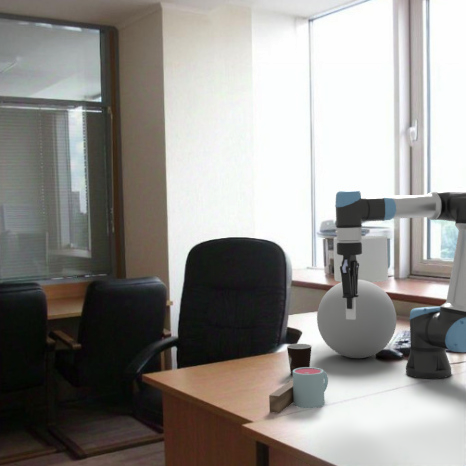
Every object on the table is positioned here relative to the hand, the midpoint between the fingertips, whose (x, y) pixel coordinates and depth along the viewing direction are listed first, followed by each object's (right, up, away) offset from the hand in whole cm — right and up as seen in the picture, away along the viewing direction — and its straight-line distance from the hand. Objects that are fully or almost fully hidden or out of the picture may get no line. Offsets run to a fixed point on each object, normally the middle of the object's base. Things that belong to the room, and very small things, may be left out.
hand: (351, 318), depth 217 cm
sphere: (+12, -22, +58) cm, 63 cm away
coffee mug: (-12, -24, +35) cm, 44 cm away
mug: (-12, -25, -2) cm, 28 cm away
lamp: (+20, -20, +91) cm, 96 cm away
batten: (-18, -25, 0) cm, 31 cm away
